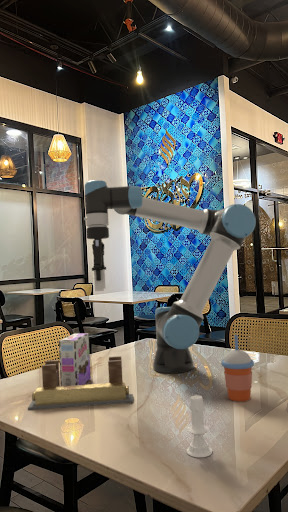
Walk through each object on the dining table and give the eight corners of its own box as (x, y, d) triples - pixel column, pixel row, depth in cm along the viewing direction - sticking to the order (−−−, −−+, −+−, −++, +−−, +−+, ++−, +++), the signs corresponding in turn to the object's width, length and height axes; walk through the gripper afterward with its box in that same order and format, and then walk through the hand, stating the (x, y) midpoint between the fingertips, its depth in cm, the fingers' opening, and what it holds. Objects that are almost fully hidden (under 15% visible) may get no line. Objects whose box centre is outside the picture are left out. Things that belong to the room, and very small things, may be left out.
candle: (183, 456, 85) (180, 397, 85) (190, 445, 90) (187, 389, 90) (209, 459, 83) (206, 399, 83) (214, 447, 88) (211, 391, 88)
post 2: (126, 388, 134) (124, 355, 134) (126, 395, 126) (124, 361, 126) (107, 389, 133) (105, 356, 134) (106, 397, 125) (104, 362, 126)
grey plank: (132, 395, 125) (132, 393, 125) (133, 402, 119) (133, 400, 119) (32, 402, 124) (32, 400, 124) (28, 409, 118) (27, 407, 118)
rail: (129, 395, 124) (128, 381, 124) (129, 399, 121) (128, 385, 121) (34, 401, 123) (33, 388, 123) (32, 405, 119) (31, 391, 119)
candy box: (77, 391, 133) (74, 339, 133) (60, 391, 134) (57, 340, 134) (91, 379, 146) (89, 332, 147) (75, 378, 148) (73, 332, 148)
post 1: (63, 392, 133) (62, 359, 133) (59, 400, 125) (58, 365, 125) (44, 393, 132) (43, 360, 132) (39, 401, 124) (38, 366, 125)
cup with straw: (237, 405, 112) (233, 339, 113) (216, 397, 120) (213, 335, 121) (262, 399, 117) (259, 335, 117) (241, 391, 125) (237, 331, 125)
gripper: (89, 230, 152) (92, 288, 152) (82, 223, 128) (86, 292, 127) (109, 229, 153) (112, 287, 153) (107, 222, 128) (110, 291, 128)
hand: (100, 289), depth 140 cm, fingers open, 13 cm apart
